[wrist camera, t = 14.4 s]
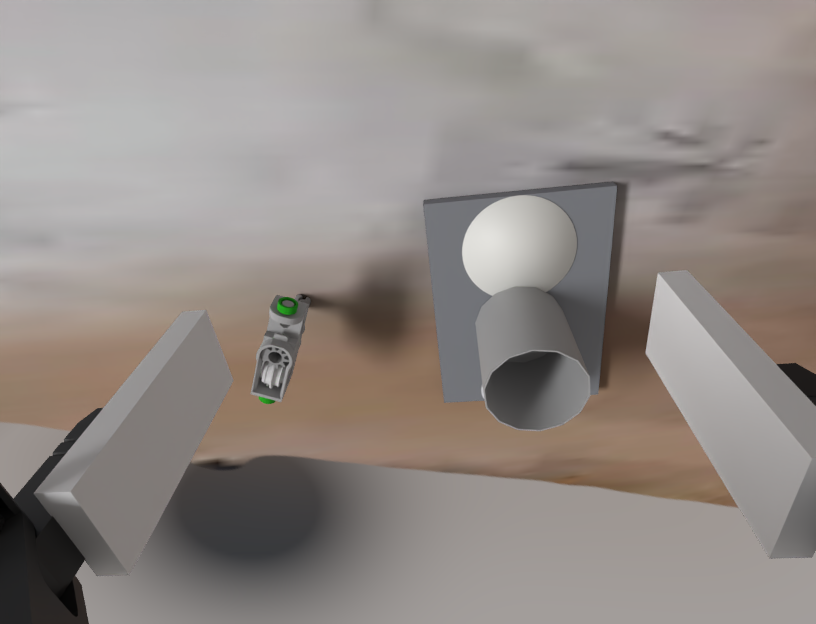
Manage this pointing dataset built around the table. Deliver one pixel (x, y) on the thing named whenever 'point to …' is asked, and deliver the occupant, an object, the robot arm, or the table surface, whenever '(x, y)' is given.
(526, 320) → the cup
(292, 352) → the mechanical component
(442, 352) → the board
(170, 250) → the table surface
